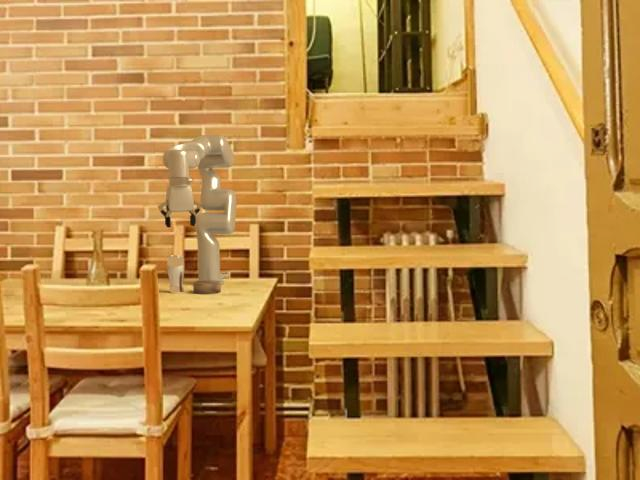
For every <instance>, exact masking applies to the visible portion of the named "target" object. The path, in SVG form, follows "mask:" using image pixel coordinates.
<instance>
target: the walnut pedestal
mask: <svg viewBox="0 0 640 480" xmlns="http://www.w3.org/2000/svg"><path fill="white" fill-rule="evenodd" d="M196 281H197V282H196ZM196 281H193V285H192V287H193V294H195V295H213V294H219V293H221V285H220V281H213V280H207V281H198V280H196Z"/></svg>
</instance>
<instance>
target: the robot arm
mask: <svg viewBox="0 0 640 480" xmlns="http://www.w3.org/2000/svg"><path fill="white" fill-rule="evenodd" d="M234 154H235V153H234V152H233V150H232V147H231V145H230V144H229V142H228V140H227V139H226V138H225V136H224V135H222V134H201V135H198V136H196V137H195V138H193V139H191V141H189V142H188V141H187V142H183V143H179V144H176V145H172V146H170V147H168V148H167V149H166V150H165V151H164V152H163V155H162V163H163V166H164V167H165V168H167V169H168V180H169V181H168V182H169V185H167V186H166V192H165V201H163V202H161V203H159V205H157V208H158V210H159V212H160V213H161V214H162V216H163V217H164V221H165V222H164V223H165V226H166V228H171V227H172V223H171V216H170V215H171V214H172V213H176V212H177V213H179V212H182V213H183V212H188V213H189V214H190V216H189V222H190V224H189V225H190V226H191V227H194V228H195V231H196V232H195V234H196V239H197V241H196V242H197V243H196V244H197V273H198V274H197V275H198V280H196V281H195V282H197V281H207V280H213V281H220V286H222V285H224V284H225V281H224V280H223V279H228V278H229V276H230V275H229V273H222V272H221V260H220V259H221V255H220V254H221V253H220V250H221V249H220V242H219V241H218V239H217V238H216V236H215V235H231V234H233V233H234V231H235V227H236V220H237V219H236V218H237V204H238V203H237V201H238V200H237V196H236V192H235V191H234V190H232V189H229V188H221V186H222V179H221V176H220V175H219V174H218V173H217V171H216V170H215V169H223V168H224V169H227V168H231V167H232V166H233V165H234V163H235V155H234ZM196 168H197V170H198V172H199V174H200V178H201V187H200V200H199V202H198V201H196V200H194V192H193V189H192V185H190V184H191V183H193V182H194V180H193V178H190V169H191V170H192V169H196ZM194 205H195V206H196V208H195V206H194ZM164 207H165V209H164ZM165 210H166V211H165ZM201 210H204V211H217V212H202V213H201V212H200V211H201ZM219 211H220V212H219ZM223 211H224V212H223ZM199 212H200V213H199Z"/></svg>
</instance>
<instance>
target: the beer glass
mask: <svg viewBox="0 0 640 480" xmlns="http://www.w3.org/2000/svg"><path fill="white" fill-rule="evenodd" d="M184 257H185V256H184V255H182V254H172V255H171V254H170V255H167V259H166V261H167V263H166V268H167V275H168V279H169V280H168V281H169V287H168V288H169V290H168V292H169V293H170V294H181V293H182V294H183V293H184V292H185V289H184V284H183V283H184V275H185V258H184Z"/></svg>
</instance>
